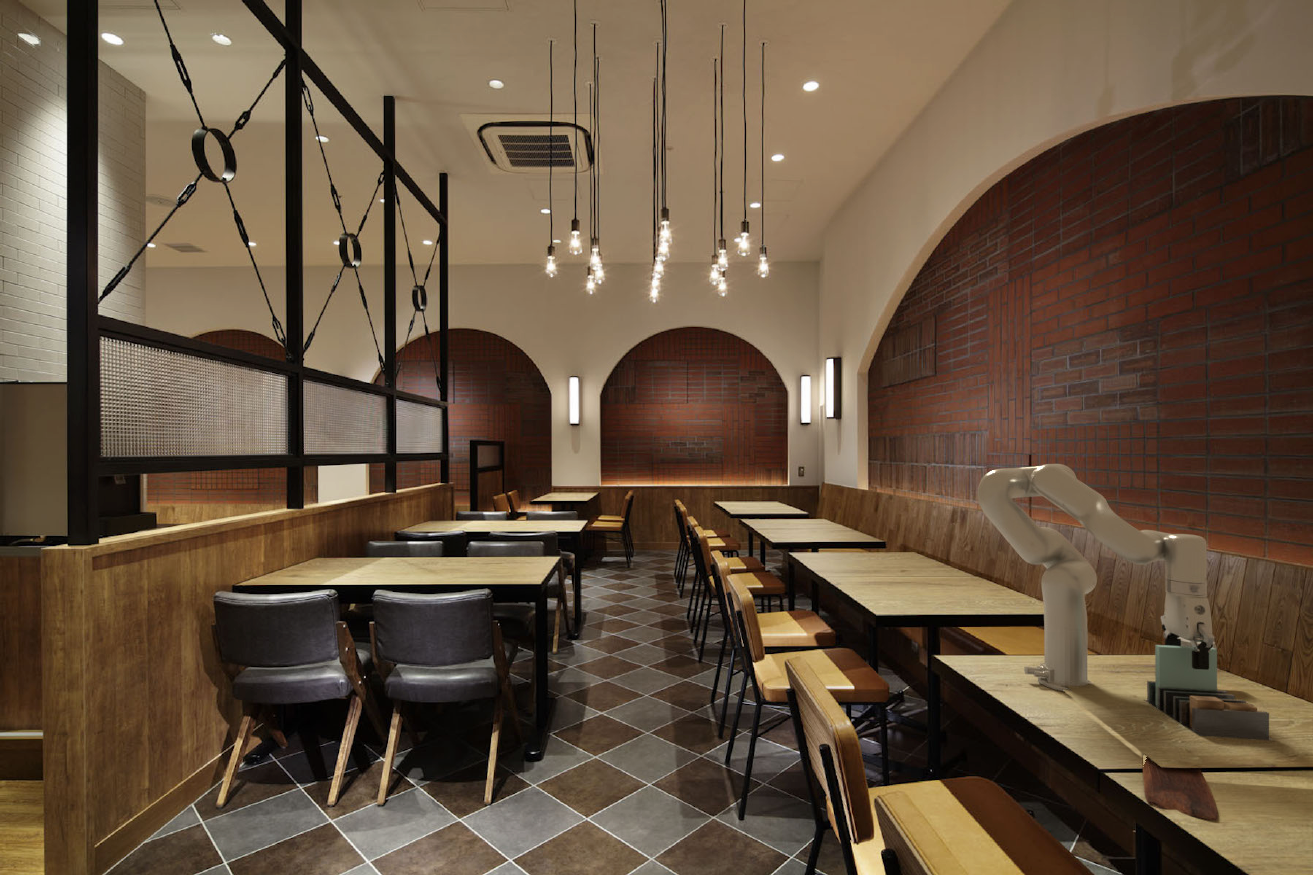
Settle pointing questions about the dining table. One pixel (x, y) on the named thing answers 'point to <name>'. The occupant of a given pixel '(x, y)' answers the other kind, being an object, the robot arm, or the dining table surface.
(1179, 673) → the teal sheet
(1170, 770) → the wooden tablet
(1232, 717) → the rack
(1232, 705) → the short walnut offcut
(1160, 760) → the dining table surface
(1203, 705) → the tall walnut offcut
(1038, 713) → the dining table surface
